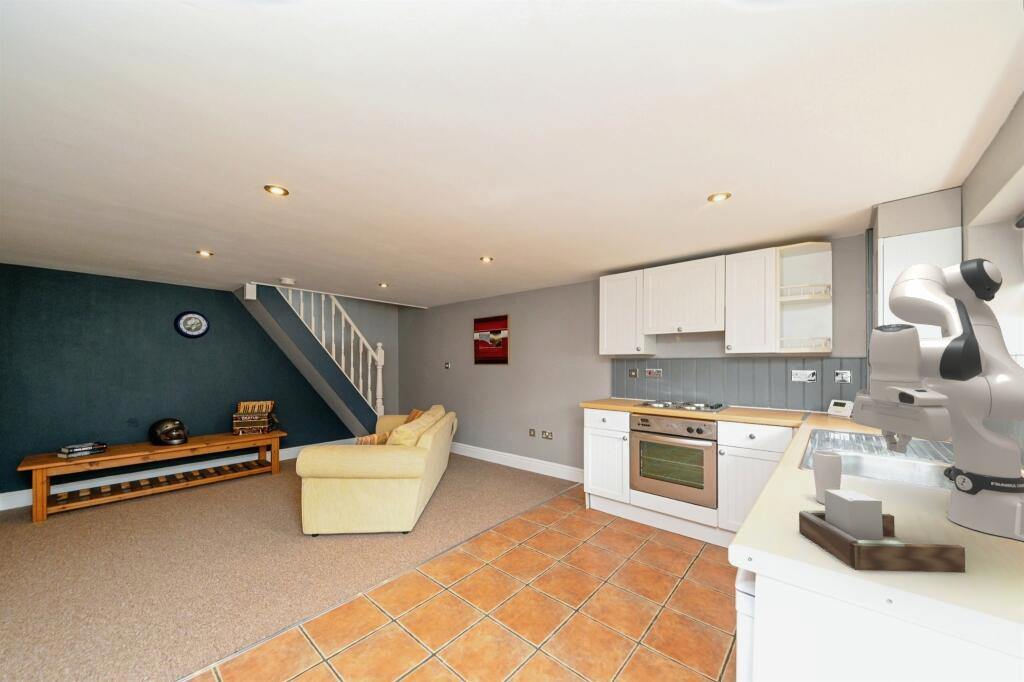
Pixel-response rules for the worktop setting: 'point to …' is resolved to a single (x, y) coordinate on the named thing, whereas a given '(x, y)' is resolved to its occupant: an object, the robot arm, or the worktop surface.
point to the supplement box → (854, 514)
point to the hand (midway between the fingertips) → (896, 451)
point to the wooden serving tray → (880, 548)
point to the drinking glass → (826, 472)
